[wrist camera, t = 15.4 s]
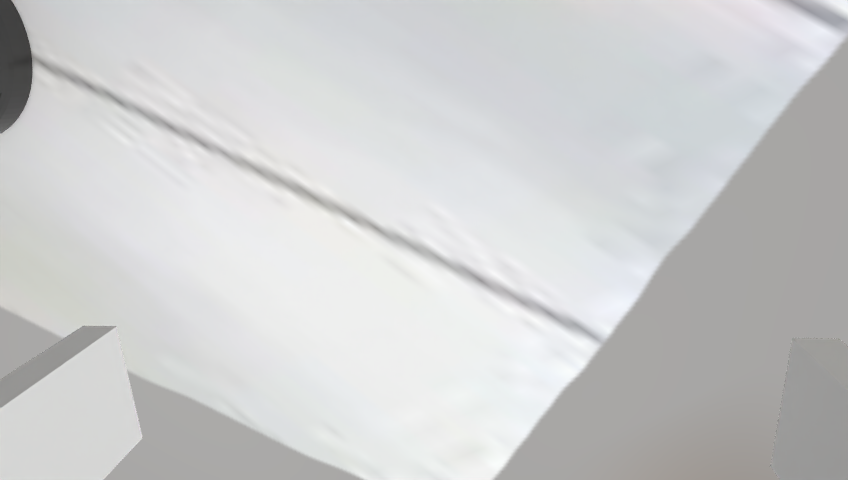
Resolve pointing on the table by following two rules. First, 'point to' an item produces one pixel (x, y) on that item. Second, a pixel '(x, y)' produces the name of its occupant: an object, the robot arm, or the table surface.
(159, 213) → the table surface
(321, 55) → the table surface
